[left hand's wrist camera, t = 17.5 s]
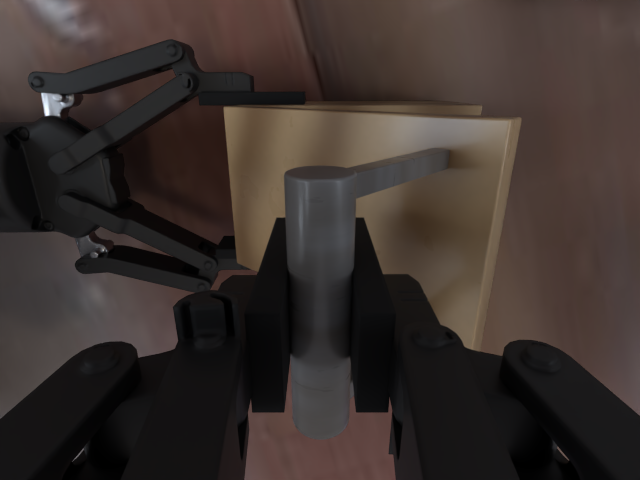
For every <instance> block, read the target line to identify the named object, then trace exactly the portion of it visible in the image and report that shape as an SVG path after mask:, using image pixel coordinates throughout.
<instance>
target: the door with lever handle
mask: <svg viewBox="0 0 640 480" xmlns="http://www.w3.org/2000/svg"><path fill="white" fill-rule="evenodd" d="M224 120H225V131H226V142H227V154H228V165H229V177H230V188H231V199H232V211H233V222H234V233H235V245H236V256H237V263H238V264H241V265H243V266H245V267H247V268H249V269H252V270H254V271H256V272H258V271H259V268H260V265H261V262H262V259H263V256H264V253H265V250H266V247H267V244H268V241H269V238H270V235H271V232H272V229H273V226H274V223H275V220H276V217H285V220H286V247H287V268H288V290H289V319H290V348H291V355H290V356H291V383H292V411H293V422H294V424H295V426H296V428H297V429H298V430H299V431H300V432H301V433H302V434H304V435H305V436H307V437H310V438H313V439H329V438H332V437H335V436H337V435H338V434H340V433H341V432H342V431H343V430H344V429H345V427H346V426H347V424H348V421H349V407H350V399H351V398H352V397H353V396H354V388H353V379H352V370H351V361H350V340H351V310H352V280H353V269H354V252H355V222H356V217H364V219H365V222H366V225H367V228H368V231H369V234H370V237H371V240H372V243H373V246H374V249H375V252H376V255H377V258H378V261H379V264H380V267H381V270H382V273H383V274H409V275H410V276H411V277H413V278H414V279H415V280H417V281H418V282H419V283H420V285H421V287H422V289H423V291H424V293H425V295H426V297H427V299H428V301H429V303H430V305H431V307H432V309H433V311H434V313H435V315H436V317H437V318H438V320H439V322H440V324H441V325H443V326H446V327H448V328H449V329H451V330H452V331H454V332H455V333H457V335H458V336H459V337H460V339H461V340H462V342H463V345H464V347H466V348H469V349H472V350H476V351H479V352H480V350H481V345H482V339H483V333H484V328H485V322H486V317H487V311H488V305H489V300H490V294H491V289H492V283H493V277H494V272H495V266H496V261H497V255H498V249H499V244H500V238H501V233H502V227H503V221H504V216H505V210H506V204H507V199H508V193H509V188H510V182H511V176H512V171H513V165H514V160H515V154H516V148H517V143H518V137H519V132H520V126H521V120H522V119H521V118H520V117H508V116H483V115H458V114H433V113H408V112H383V111H358V110H333V109H308V108H283V107H258V106H225V107H224Z"/></svg>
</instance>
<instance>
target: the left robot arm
mask: <svg viewBox="0 0 640 480" xmlns="http://www.w3.org/2000/svg"><path fill="white" fill-rule="evenodd" d="M173 310H174V317H175V323H176V329H177V335H178V343H177V345H176V348H175V349H173V350H171V351H167V352H164V353H160V354H155V355H150V356H145V357H140V358H138V355H137V350H136V348H135V347H134V346H133V345H131V344H129V343H125V342H105V343H100V344H97V345H94V346H92V347H90V348H87V349H85V350H83V351H81V352H79V353H78V354H76V355H75V356H73V357H72V358H71V359H69V360H68V361H67V362H66V363H65V364H64V365H62V366H61V367H60V368H59V369H58V370H57V371H55V372H54V373H53V374H52V375H51V376H50V377H49V378H47V379H46V380H45V381H44V382H43V383H42V384H40V385H39V386H38V387H37V388H36V389H35V390H33V391H32V392H31V393H30V394H29V395H28V396H26V397H25V398H24V399H23V400H22V401H21V402H20V403H18V404H17V405H16V406H15V407H14V408H13V409H11V410H10V411H9V412H8V413H7V414H6V415H4V416H3V417H2V418H1V419H0V480H244V476H245V466H246V456H247V446H248V436H249V422H248V409H249V405H250V400H251V402H252V412H284V410H285V400H286V391H287V382H288V373H289V364H290V355H291V348H290V319H289V290H288V268H287V247H286V220H285V217H276V220H275V223H274V226H273V229H272V232H271V235H270V238H269V241H268V244H267V247H266V250H265V253H264V256H263V259H262V262H261V265H260V268H259V271H258V274H257V275H232V276H231V277H229V278H228V279H227V280H225V281H224V282H223V283H221V285H220V287H219V289H218V291H216V290H209V291H202V292H197V293H194V294H191V295H188V296H186V297H184V298H183V299H181V300H179V301H178V302H177V303H176V304H175V305H174V307H173ZM350 361H351V370H352V379H353V388H354V397H355V406H356V412H388V407H389V396H390V401H391V405H392V410H393V411H392V422H391V433H390V444H389V454H393V455H394V465H395V475H396V480H640V416H639V415H638V414H637V413H636V412H635V411H633V410H632V409H631V408H630V407H629V406H627V405H626V404H625V403H624V402H623V401H622V400H620V399H619V398H618V397H617V396H616V395H615V394H613V393H612V392H611V391H610V390H609V389H608V388H606V387H605V386H604V385H603V384H602V383H601V382H599V381H598V380H597V379H596V378H595V377H594V376H592V375H591V374H590V373H589V372H588V371H587V370H585V369H584V368H583V367H582V366H581V365H580V364H578V363H577V362H576V361H575V360H574V359H573V358H571V357H570V356H569V355H567V354H566V353H564V352H563V351H561V350H560V349H558V348H555V347H553V346H551V345H548V344H546V343H543V342H540V341H539V342H538V341H534V340H517V341H513V342H510V343H509V344H508V345H506V346H505V347H504V352H503V356H499V355H494V354H489V353H484V352H479V351H476V350H472V349H469V348H466V347H464V345H463V342H462V340H461V339H460V337H459V336H458V335H457V333H455V332H454V331H452V330H451V329H449V328H448V327H446V326H443V325H441V324H440V322H439V320H438V318H437V317H436V315H435V313H434V311H433V309H432V307H431V305H430V303H429V301H428V299H427V297H426V295H425V293H424V291H423V289H422V287H421V285H420V283H419V282H418V281H417V280H415V279H414V278H413V277H411V276H410V275H409V274H383V273H382V270H381V267H380V264H379V261H378V258H377V255H376V252H375V249H374V246H373V243H372V240H371V237H370V234H369V231H368V228H367V225H366V222H365V219H364V217H356V222H355V252H354V269H353V280H352V310H351V340H350ZM557 446H558V447H559V448H560V449H561V451H562V452H563V453H564V454H565V455H566V456H567V458H568V459H569V461H568V460H567V459H566V458H565V457H564V456H563V455H562V454H561V453H560V451H559V450H558V449H557ZM83 448H84V450H83V452H82V453H81V454H80V455H79V456H78V457H77V458H76V459H75V457H76V456H77V455H78V454H79V453H80V451H81V450H82V449H83ZM74 459H75V460H74ZM73 460H74V461H73ZM72 461H73V462H72Z"/></svg>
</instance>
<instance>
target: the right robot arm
mask: <svg viewBox="0 0 640 480" xmlns="http://www.w3.org/2000/svg"><path fill="white" fill-rule="evenodd" d="M170 69H173V70H174V73H175V75H176V77H175V78H173V79H172V80H170V81H169V82H167V83H166V84H164V85H163V86H161V87H160V88H158V89H157V90H155V91H154V92H152V93H151V94H149V95H148V96H146V97H145V98H143V99H142V100H140V101H139V102H137V103H136V104H134V105H133V106H131V107H130V108H128V109H127V110H125V111H124V112H122V113H121V114H119V115H118V116H116V117H115V118H113V119H112V120H110V121H109V122H107V123H106V124H104V125H102V126H100V127H97V128H95V129H94V130H92V131H91V130H90V129H88V128H87V127H85V126H83V125H82V124H80V123H79V122H77V121H76V120H74V119H73V118H71V117H69V116H68V112H69V110H70V108H72V107H75V106H78V105H80V103H81V101H82V100H83V95H82V94H92V93H97V92H102V91H105V90H108V89H111V88H114V87H117V86H120V85H123V84H127V83H130V82H133V81H136V80H139V79H142V78H145V77H148V76H152V75H155V74H158V73H161V72H164V71H167V70H170ZM28 82H29V85H30V87H31V88H32V89H33V90H35V91H36V92H40V93H41V97H42V102H43V108H44V114H45V116H44V117H42V118H40V119H39V120H37V121H36V122H34V123H0V232H51V231H56V232H61V233H64V234H66V235H68V236H70V237H74V238H75V240H76V243H77V246H78V249H79V252H80V255H81V258H80V259H78V260H77V261H76V263H75V267H76V269H77V270H78V271H79V272H80V273H83V274H90V273H104V272H109V273H114V274H118V275H122V276H127V277H131V278H135V279H139V280H144V281H148V282H152V283H157V284H161V285H165V286H169V287H174V288H178V289H182V290H186V291H191V292H195V293H197V292H202V291H209V290H210V289H211V287H212V285H213V283H214V282H215V280H216V278H217V276H218V271H220V270H241V269H243V270H247V269H248V270H252V269H249V268H247V267H245V266H243V265H241V264H238V263H237V256H236V245H235V236H224V237H223V238H222V240H221V241H220V243H219V245H217V244H215V243H213V242H211V241H208V240H206V239H204V238H202V237H200V236H198V235H196V234H194V233H192V232H190V231H188V230H186V229H184V228H182V227H180V226H178V225H176V224H174V223H172V222H170V221H168V220H165V219H163V218H161V217H159V216H157V215H155V214H153V213H151V212H149V211H147V210H145V209H144V206H143V205H141V204H139V203H137V202H135V201H133V200H131V199H129V198H128V197H130V192H129V186H128V184H127V182H126V180H125V177H124V159H123V154H119V153H118V151H117V148H119V147H120V146H122V145H123V144H125V143H127V142H128V141H130V140H131V139H132V138H133V137H134V136H136V135H137V134H139V133H140V132H142V131H143V130H145V129H146V128H148V127H149V126H151V125H153V124H154V123H156V122H157V121H159V120H160V119H162V118H163V117H165V116H167V115H168V114H170V113H171V112H173V111H174V110H176V109H177V108H179V107H181V106H182V105H184V104H185V103H187V102H188V101H190V100H191V99H193V98H194V97H196V96H198V95H199V104H200V105H304V104H305V92H254V80H253V76H251V75H249V74H246V73H243V72H204V71H202V70H201V69H200V68H199V66H198V64H197V62H196V60H195V58H194V51H193V49H192V48H191V47H190V46H189V45H187V44H185V43H182V42H179V41H175V40H172V39H170V40H166V41H163V42H160V43H157V44H154V45H150V46H147V47H144V48H141V49H138V50H135V51H132V52H129V53H126V54H123V55H120V56H117V57H114V58H111V59H108V60H105V61H102V62H99V63H96V64H92V65H89V66H86V67H83V68H80V69H77V70H74V71H71V72H68V73H51V72H32V73H31V74H30V75H29V77H28ZM100 226H101V227H103V228H105V229H108V230H110V231H112V232H114V233H118V234H127V235H129V236H131V237H133V238H135V239H137V240H140V241H142V242H144V243H146V244H148V245H150V246H152V247H154V248H157V249H159V250H161V251H163V252H165V253H167V254H169V255H171V256H173V257H171V256H167V255H163V254H159V253H155V252H151V251H146V250H142V249H138V248H134V247H129V246H123V245H114V243H113V241H112V240H105V239H101V238H99V237H97V235H96V234H95V232H94V231H95V230H97V229H98V228H99V227H100ZM175 257H176V258H175Z"/></svg>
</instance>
